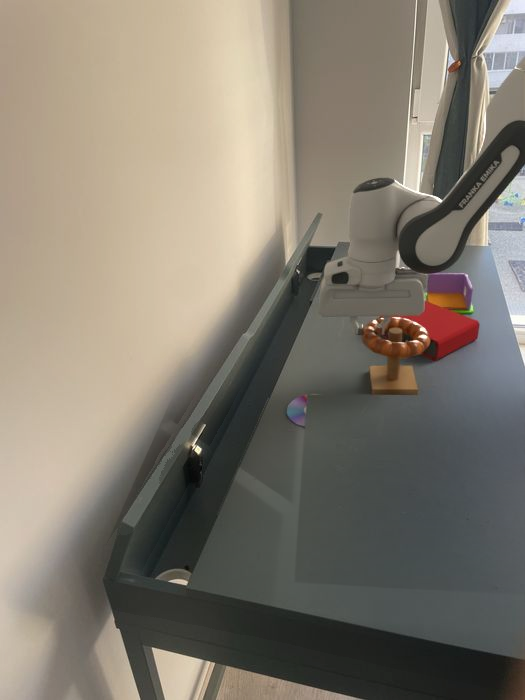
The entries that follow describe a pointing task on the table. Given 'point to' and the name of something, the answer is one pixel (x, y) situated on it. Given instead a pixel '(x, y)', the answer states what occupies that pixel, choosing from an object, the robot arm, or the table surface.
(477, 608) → the table surface
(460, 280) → the dollhouse room
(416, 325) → the ring
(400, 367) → the stand
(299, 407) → the cd
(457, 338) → the red device housing
